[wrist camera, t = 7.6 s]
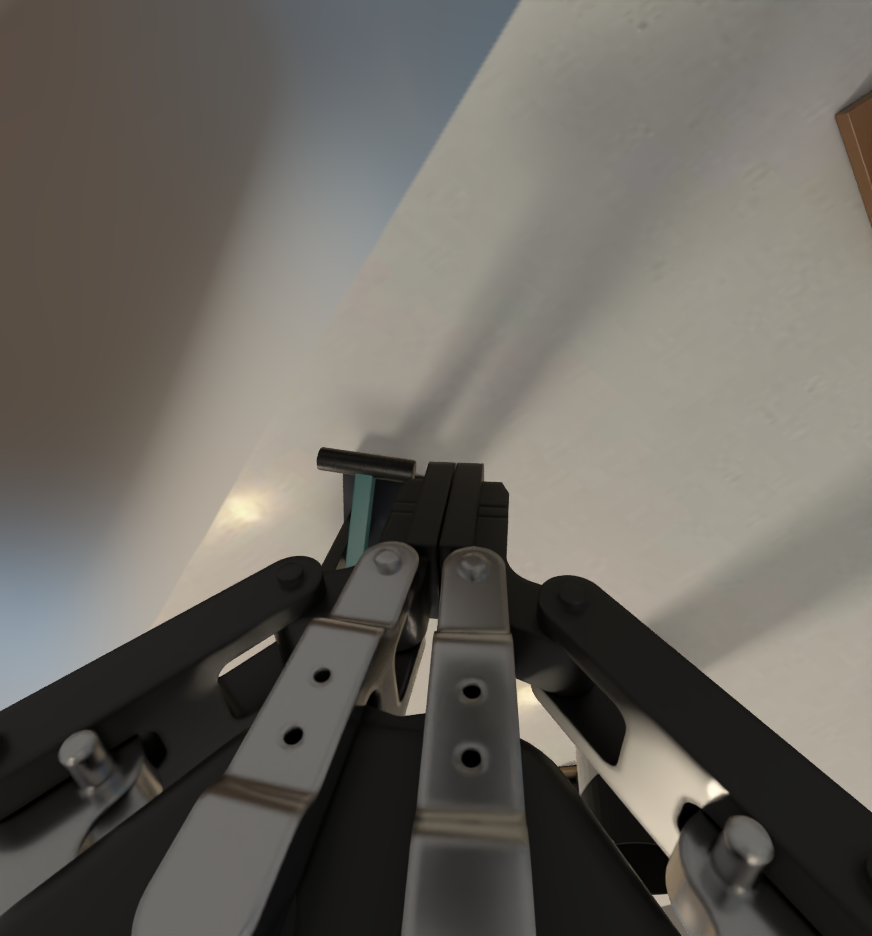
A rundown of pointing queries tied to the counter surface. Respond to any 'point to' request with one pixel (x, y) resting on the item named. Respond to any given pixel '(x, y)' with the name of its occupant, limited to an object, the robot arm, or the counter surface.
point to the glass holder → (623, 827)
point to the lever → (363, 488)
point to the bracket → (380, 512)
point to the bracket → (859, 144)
